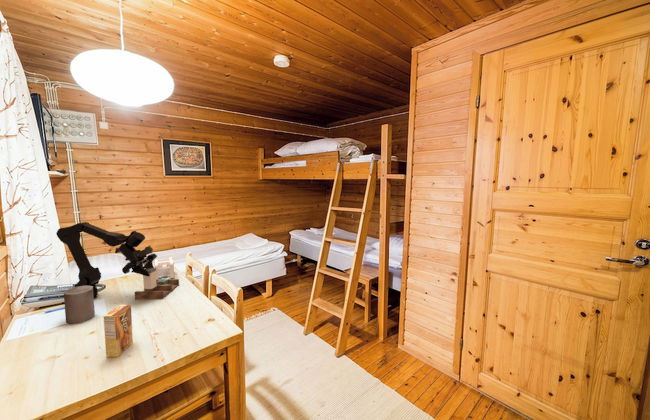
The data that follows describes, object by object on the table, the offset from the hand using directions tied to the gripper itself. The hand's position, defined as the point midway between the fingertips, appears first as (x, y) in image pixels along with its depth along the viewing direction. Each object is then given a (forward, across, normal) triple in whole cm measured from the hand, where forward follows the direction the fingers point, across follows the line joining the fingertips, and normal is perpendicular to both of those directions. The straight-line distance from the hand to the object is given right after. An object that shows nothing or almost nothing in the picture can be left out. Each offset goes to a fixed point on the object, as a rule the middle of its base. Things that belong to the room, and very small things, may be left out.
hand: (152, 274), depth 139 cm
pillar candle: (-3, -22, +22) cm, 31 cm away
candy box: (+22, -42, -2) cm, 47 cm away
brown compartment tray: (+7, +9, +12) cm, 16 cm away
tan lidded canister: (+4, 0, +6) cm, 7 cm away
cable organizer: (-1, +31, +20) cm, 37 cm away
